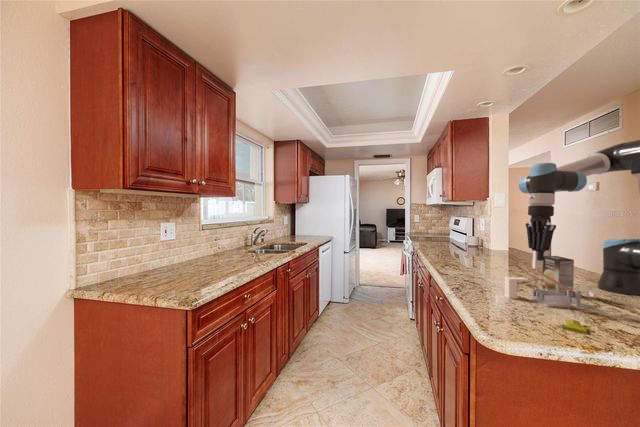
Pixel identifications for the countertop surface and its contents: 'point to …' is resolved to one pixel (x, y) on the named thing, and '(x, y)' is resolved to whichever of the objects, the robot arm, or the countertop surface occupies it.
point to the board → (578, 303)
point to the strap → (553, 280)
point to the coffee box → (558, 273)
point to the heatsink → (551, 298)
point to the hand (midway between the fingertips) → (537, 268)
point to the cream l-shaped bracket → (512, 286)
